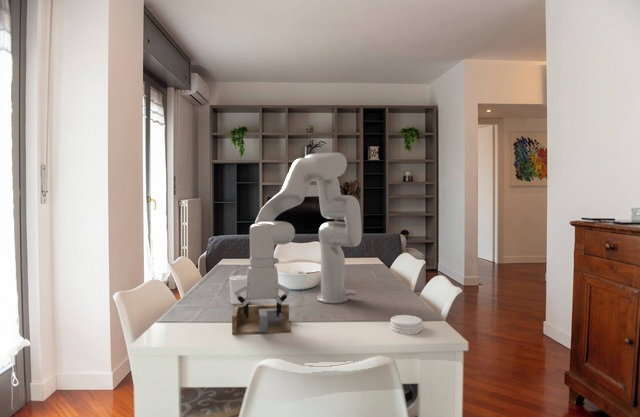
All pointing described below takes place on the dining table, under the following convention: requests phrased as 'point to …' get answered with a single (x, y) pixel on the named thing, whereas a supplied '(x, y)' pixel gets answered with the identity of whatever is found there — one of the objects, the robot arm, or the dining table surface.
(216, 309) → the dining table surface
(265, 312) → the bracket
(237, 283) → the white cup
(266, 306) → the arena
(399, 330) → the coaster
